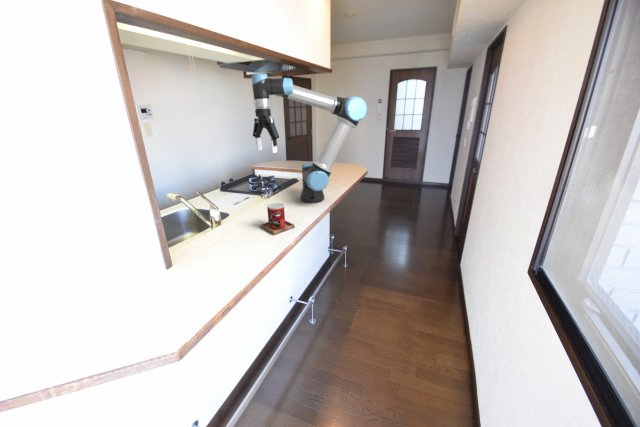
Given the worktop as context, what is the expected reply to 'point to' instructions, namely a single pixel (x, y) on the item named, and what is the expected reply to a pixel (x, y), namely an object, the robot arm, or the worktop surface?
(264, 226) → the coaster board
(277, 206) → the canned food
